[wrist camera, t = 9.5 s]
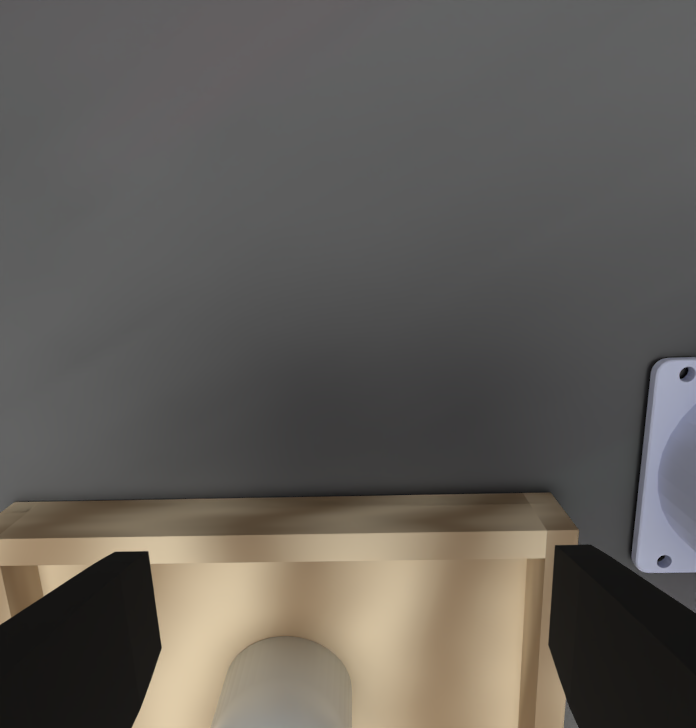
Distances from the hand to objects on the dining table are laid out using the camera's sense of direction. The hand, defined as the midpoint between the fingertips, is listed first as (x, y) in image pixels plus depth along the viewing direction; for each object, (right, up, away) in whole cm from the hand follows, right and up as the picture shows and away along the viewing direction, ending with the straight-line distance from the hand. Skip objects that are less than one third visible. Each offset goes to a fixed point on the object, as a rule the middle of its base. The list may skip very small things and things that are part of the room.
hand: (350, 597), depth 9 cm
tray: (-2, -9, +12) cm, 15 cm away
